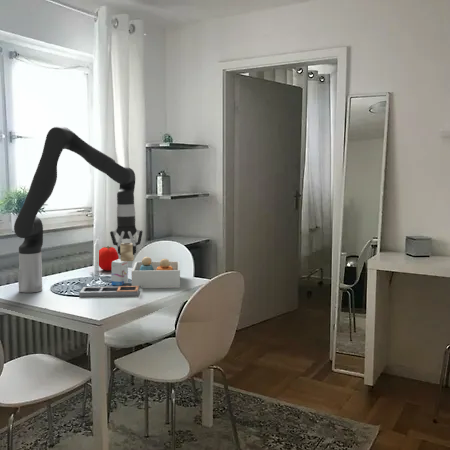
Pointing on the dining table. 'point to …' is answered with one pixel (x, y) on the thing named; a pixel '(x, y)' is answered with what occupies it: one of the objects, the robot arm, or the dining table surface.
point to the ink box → (119, 272)
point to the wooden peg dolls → (147, 266)
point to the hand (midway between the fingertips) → (127, 254)
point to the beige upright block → (126, 252)
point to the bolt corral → (156, 276)
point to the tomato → (107, 257)
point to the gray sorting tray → (109, 291)
